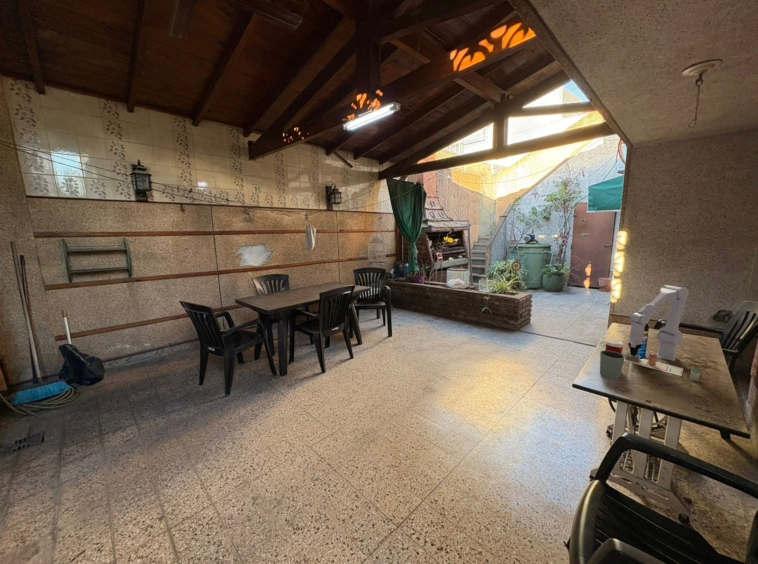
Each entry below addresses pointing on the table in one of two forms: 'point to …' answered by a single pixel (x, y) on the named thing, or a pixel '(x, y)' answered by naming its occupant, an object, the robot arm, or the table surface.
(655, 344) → the table surface
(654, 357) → the brown rounded cylinder
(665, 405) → the table surface
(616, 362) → the green round bin
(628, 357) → the button housing
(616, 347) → the coffee cup
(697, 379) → the sage marker
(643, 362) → the white flat panel
